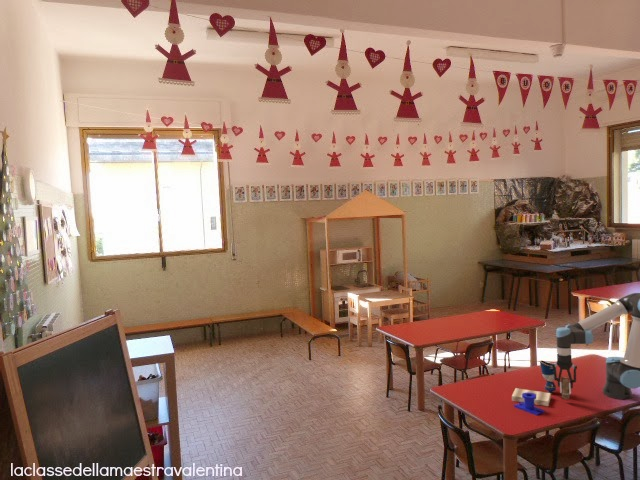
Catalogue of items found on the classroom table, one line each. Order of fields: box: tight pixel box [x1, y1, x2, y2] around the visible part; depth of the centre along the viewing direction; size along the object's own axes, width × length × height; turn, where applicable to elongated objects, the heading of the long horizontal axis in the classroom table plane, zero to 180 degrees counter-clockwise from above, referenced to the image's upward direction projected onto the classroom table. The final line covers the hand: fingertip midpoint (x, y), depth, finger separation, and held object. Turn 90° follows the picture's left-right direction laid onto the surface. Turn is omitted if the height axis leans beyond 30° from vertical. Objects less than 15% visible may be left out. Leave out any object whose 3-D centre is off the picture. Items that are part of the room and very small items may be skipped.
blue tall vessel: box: [539, 360, 557, 394], centre depth 298 cm, size 13×9×20 cm
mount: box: [513, 393, 546, 416], centre depth 275 cm, size 15×8×9 cm, turn 31°
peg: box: [560, 376, 571, 400], centre depth 282 cm, size 4×4×12 cm
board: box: [511, 387, 552, 407], centre depth 289 cm, size 20×14×3 cm
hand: (565, 392), depth 282 cm, fingers closed on peg, 4 cm apart
